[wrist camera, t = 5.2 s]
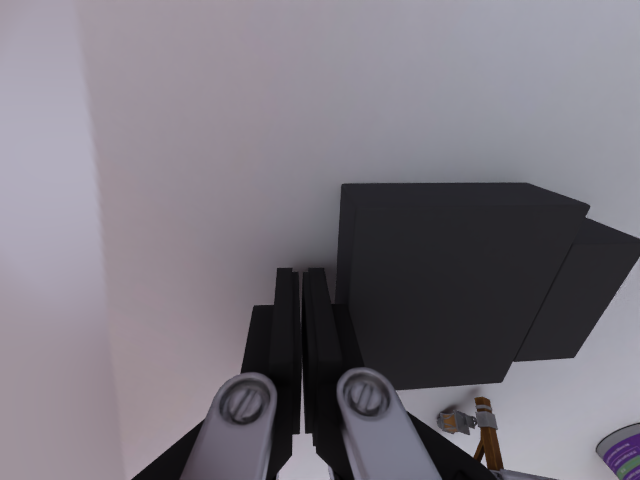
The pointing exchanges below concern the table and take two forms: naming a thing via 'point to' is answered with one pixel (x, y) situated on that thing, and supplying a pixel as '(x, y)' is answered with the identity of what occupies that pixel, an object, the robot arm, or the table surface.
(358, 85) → the table surface
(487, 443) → the brown jointed two-tone fixture
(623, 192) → the table surface
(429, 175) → the table surface
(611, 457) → the container
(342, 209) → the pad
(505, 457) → the table surface
